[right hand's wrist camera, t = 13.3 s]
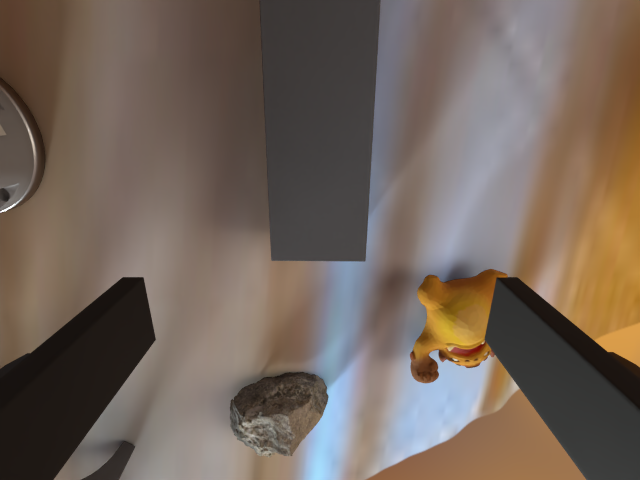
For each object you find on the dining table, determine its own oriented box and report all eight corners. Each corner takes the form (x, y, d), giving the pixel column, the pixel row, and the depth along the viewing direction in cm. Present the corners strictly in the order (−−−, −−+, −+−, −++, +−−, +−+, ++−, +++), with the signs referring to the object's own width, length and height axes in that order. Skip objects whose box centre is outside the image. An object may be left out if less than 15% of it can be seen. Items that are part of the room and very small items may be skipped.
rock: (260, 438, 48) (252, 485, 42) (217, 401, 46) (201, 444, 40) (335, 391, 45) (338, 433, 39) (293, 348, 43) (289, 386, 37)
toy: (542, 280, 36) (495, 394, 41) (493, 256, 42) (457, 358, 46) (461, 281, 32) (419, 408, 36) (419, 254, 37) (387, 367, 42)
